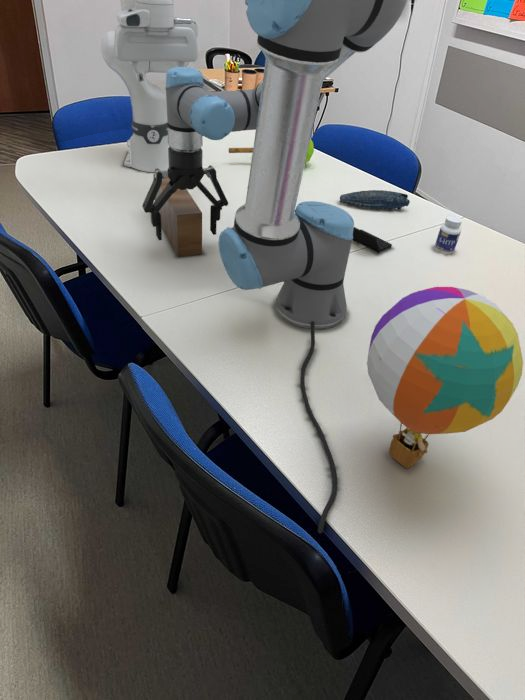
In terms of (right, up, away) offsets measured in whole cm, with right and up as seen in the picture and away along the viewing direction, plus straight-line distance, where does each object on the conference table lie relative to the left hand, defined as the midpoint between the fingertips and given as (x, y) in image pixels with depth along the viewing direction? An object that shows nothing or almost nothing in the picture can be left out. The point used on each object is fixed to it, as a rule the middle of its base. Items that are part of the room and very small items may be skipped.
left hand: (158, 80), depth 132 cm
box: (+4, -38, +4) cm, 38 cm away
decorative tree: (+30, -4, +50) cm, 58 cm away
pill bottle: (+76, -42, +8) cm, 87 cm away
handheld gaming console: (+54, -41, +7) cm, 68 cm away
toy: (+49, -86, -50) cm, 111 cm away
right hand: (+8, -41, -5) cm, 42 cm away
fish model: (+61, -25, +28) cm, 71 cm away
